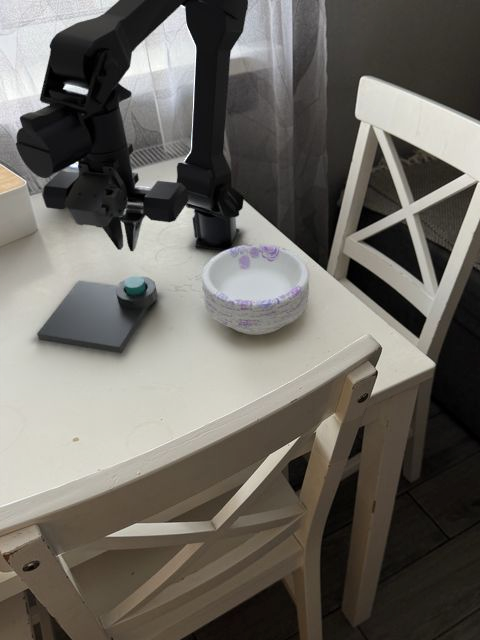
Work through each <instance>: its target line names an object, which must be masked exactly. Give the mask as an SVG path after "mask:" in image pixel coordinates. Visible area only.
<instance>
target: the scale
mask: <svg viewBox="0 0 480 640" xmlns="http://www.w3.org/2000/svg"><path fill="white" fill-rule="evenodd" d="M139 276H140V277H142V278H143V279H144V281H145V286H146V290H145V292H144V293H142V294H140V295H135V296H132V295H128V294H127V293H126V289H125V285H124V282H125V280H126V279H124V280H122V281H120V282H119V283H118V285H112V284H107V283H98V282H91V281H85V280H78V281H77V282H76V283H75V284H74V286H73V287H72V288H71V290H70V291H69V292H68V294H66V296H65V297H64V299H63V300H62V301H61V302H60V304H59V305H58V306H57V308H56V309H55V310H54V311H53V312H52V314H51V315H50V317H49V318H48V319H47V320H46V322H45V323H44V324H43V325H42V327H40V329H39V330H38V331H37V333H36V335H37V337H38V340H41V341H46V342H52V343H58V344H64V345H71V346H76V347H81V348H88V349H92V350H93V349H94V350H100V351H105V352H111V353H116V354H122V353H123V351H124V350H125V348H126V347H127V344H128V343H129V342H130V340H131V338H132V337H133V335H134V333H135V332H136V330H137V329H138V327H139V325H140V324H141V322H142V321H143V319H144V318H145V315H146V314H147V312H148V311H149V309H150V308H151V306H152V305H153V304H154V303H155V301H156V300H157V298H158V291H157V286H156V282H155V281H154V280H152V279H151V278H150V277H148V276H141V275H139Z"/></svg>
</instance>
